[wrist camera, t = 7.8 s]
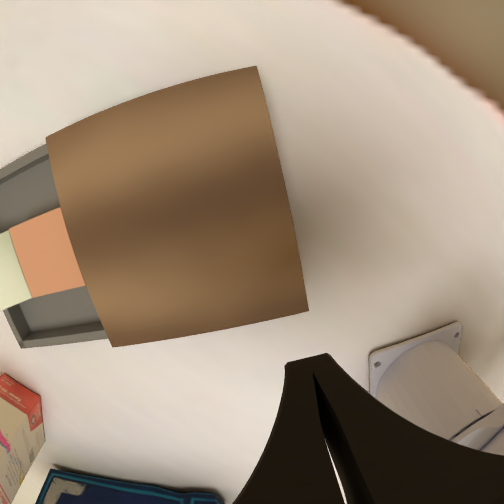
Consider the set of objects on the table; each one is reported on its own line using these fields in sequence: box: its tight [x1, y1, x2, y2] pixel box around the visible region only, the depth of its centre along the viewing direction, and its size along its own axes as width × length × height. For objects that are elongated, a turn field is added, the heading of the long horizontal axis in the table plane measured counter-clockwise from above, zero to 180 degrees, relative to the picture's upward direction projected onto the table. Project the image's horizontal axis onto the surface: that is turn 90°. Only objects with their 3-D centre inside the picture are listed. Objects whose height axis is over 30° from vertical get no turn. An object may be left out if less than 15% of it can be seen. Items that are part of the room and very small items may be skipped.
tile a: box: [9, 207, 86, 298], centre depth 16 cm, size 4×4×2 cm
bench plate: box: [46, 66, 309, 347], centre depth 15 cm, size 12×11×3 cm
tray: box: [0, 144, 108, 349], centre depth 16 cm, size 12×9×2 cm
